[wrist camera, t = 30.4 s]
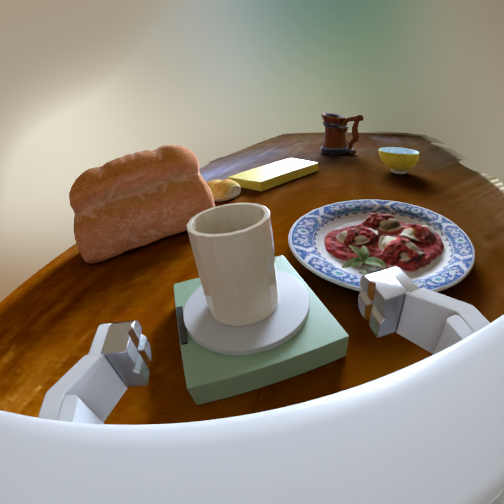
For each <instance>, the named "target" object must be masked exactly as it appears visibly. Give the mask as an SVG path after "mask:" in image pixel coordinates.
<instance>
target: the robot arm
mask: <svg viewBox="0 0 504 504" xmlns="http://www.w3.org/2000/svg"><path fill="white" fill-rule="evenodd" d="M360 287H361V288H362V291H361V292H360V294H359V295H358V305H359V310H360V312H361V314H362V316H363V317H364V319H367V320H369V321H370V325H369V326H370V328H371V329H372V331H373V332H374V334H375V335H376V337H377V338H378V337H382V336H385V335H388V334H391V333H394V332H396V333H398V334H399V335H401V336H403V337H404V338H406V339H408V340H410V341H411V342H413V343H415V344H417V345H418V346H420V347H422V348H423V349H425V350H427V351H429V352H430V353H432V354H433V355H432V356H430V357H428V358H426V359H424V360H421V361H419V362H417V363H415V364H413V365H410V366H408V367H406V368H403V369H401V370H399V371H396V372H394V373H391V374H389V375H386V376H384V377H381V378H379V379H376V380H373V381H370V382H368V383H365V384H362V385H359V386H356V387H353V388H350V389H347V390H344V391H341V392H338V393H335V394H331V395H328V396H325V397H321V398H318V399H314V400H310V401H307V402H303V403H299V404H295V405H291V406H287V407H282V408H278V409H273V410H268V411H263V412H258V413H253V414H247V415H242V416H235V417H229V418H222V419H214V420H205V421H196V422H185V423H171V424H149V425H110V424H104V421H105V420H106V418H107V417H108V415H109V414H110V413H111V411H112V410H113V408H114V407H115V405H116V404H117V402H118V401H119V400H120V398H121V397H122V395H123V394H124V392H125V391H126V390H127V387H134V386H144V385H148V380H149V372H150V371H149V369H148V367H147V365H148V364H149V363H150V362H151V356H152V355H151V347H150V344H149V341H148V339H147V337H145V336H144V335H142V334H141V331H142V327H141V325H140V323H139V322H138V321H136V320H133V321H124V322H115V323H108V324H101V325H100V326H99V327H98V329H97V332H96V334H95V337H94V340H93V343H92V345H91V348H90V351H89V354H88V355H85V356H84V357H83V358H82V359H81V360H79V361H78V362H77V363H76V364H75V365H74V366H73V367H72V368H71V369H70V370H69V371H68V372H67V373H66V374H65V375H64V376H63V377H62V378H61V379H60V380H59V381H57V382H56V383H55V384H54V385H53V386H52V387H51V388H50V389H49V390H48V391H47V392H46V395H45V397H44V400H43V403H42V407H41V410H40V413H39V416H38V418H36V417H31V416H25V415H20V414H15V413H10V412H6V411H2V410H0V504H504V315H502V316H501V317H499V318H498V319H496V320H495V321H493V322H492V323H490V322H489V321H488V320H487V319H486V318H485V317H484V316H483V315H482V314H481V313H480V312H479V311H478V310H477V309H476V308H475V307H474V306H473V305H471V304H468V303H465V302H462V301H460V300H457V299H454V298H451V297H448V296H446V295H443V294H440V293H437V292H434V291H431V290H428V289H426V288H419V287H418V286H417V285H416V284H415V283H414V282H413V281H412V280H411V279H410V278H409V277H408V276H407V275H406V274H405V273H404V272H403V271H402V270H401V269H400V268H399V267H396V266H395V267H391V268H388V269H385V270H382V271H378V272H375V273H371V274H367V275H363V276H362V277H361V279H360Z"/></svg>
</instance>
